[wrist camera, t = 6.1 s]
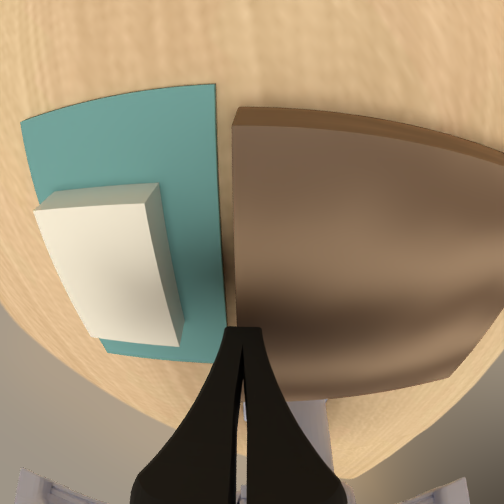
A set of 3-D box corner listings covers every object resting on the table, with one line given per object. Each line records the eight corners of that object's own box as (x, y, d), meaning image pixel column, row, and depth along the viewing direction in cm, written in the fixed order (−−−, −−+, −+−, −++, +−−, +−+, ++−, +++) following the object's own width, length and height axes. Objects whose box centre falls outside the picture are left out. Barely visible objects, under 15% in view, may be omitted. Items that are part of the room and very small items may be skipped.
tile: (91, 336, 15) (101, 314, 17) (179, 346, 16) (184, 320, 17) (33, 210, 10) (54, 191, 12) (144, 203, 10) (158, 182, 12)
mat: (230, 359, 20) (229, 363, 20) (108, 348, 20) (107, 352, 20) (215, 83, 10) (214, 84, 9) (25, 120, 10) (20, 122, 9)
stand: (432, 339, 20) (448, 377, 17) (242, 352, 20) (240, 402, 17) (515, 157, 10) (559, 189, 7) (238, 106, 10) (231, 125, 7)
